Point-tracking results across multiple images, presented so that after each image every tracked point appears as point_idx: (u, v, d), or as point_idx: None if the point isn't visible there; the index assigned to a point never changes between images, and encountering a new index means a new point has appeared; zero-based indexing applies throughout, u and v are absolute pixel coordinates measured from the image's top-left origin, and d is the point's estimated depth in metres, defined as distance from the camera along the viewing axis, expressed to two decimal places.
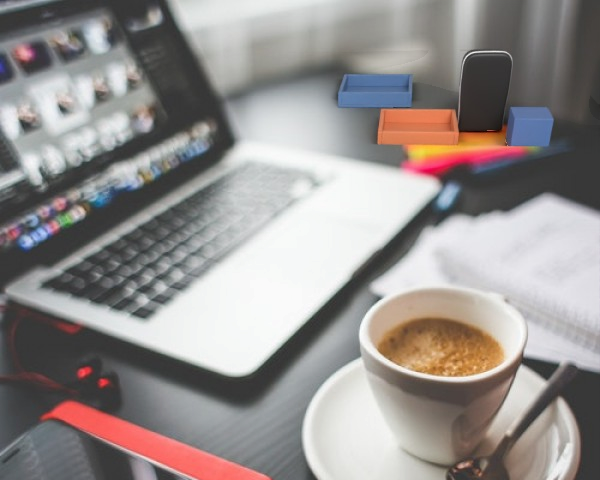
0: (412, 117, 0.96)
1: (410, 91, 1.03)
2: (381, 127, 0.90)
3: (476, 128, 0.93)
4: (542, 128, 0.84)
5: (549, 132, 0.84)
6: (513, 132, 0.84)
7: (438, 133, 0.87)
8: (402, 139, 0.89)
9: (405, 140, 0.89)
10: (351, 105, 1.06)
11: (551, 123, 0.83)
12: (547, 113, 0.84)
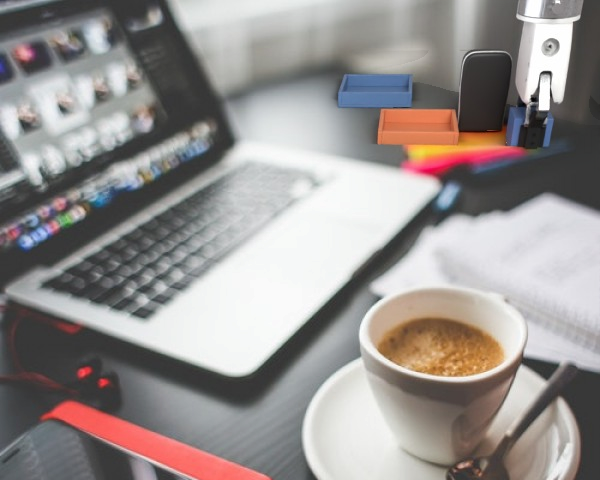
0: (412, 117, 0.96)
1: (410, 91, 1.03)
2: (381, 127, 0.90)
3: (476, 128, 0.93)
4: None
5: (549, 132, 0.84)
6: (513, 132, 0.84)
7: (438, 133, 0.87)
8: (402, 139, 0.89)
9: (405, 140, 0.89)
10: (351, 105, 1.06)
11: (551, 123, 0.83)
12: None
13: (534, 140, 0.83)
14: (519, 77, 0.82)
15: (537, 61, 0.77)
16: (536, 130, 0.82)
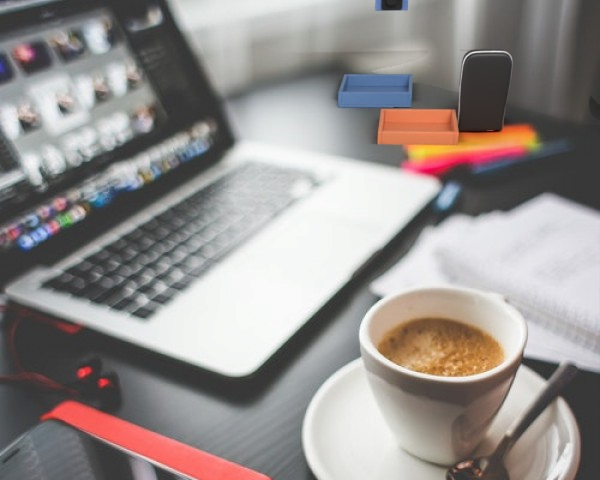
0: (412, 117, 0.96)
1: (410, 91, 1.03)
2: (381, 127, 0.90)
3: (476, 128, 0.93)
4: None
5: None
6: None
7: (438, 133, 0.87)
8: (402, 139, 0.89)
9: (405, 140, 0.89)
10: (351, 105, 1.06)
11: None
12: None
13: None
14: None
15: None
16: None
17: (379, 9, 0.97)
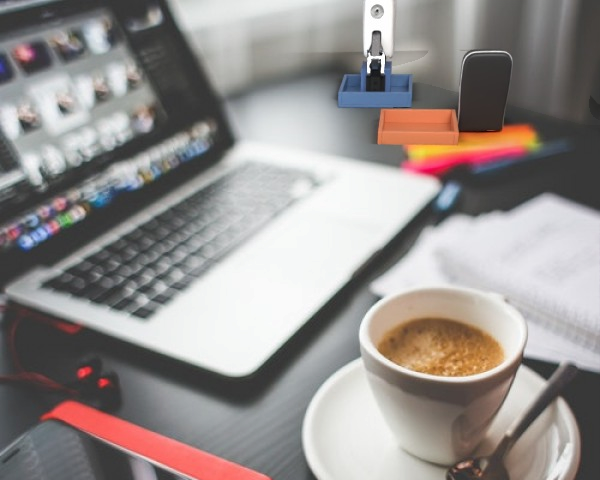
0: (412, 117, 0.96)
1: (410, 91, 1.03)
2: (381, 127, 0.90)
3: (476, 128, 0.93)
4: None
5: (388, 80, 1.05)
6: (361, 80, 1.06)
7: (438, 133, 0.87)
8: (402, 139, 0.89)
9: (405, 140, 0.89)
10: (351, 105, 1.06)
11: (389, 72, 1.05)
12: (388, 65, 1.06)
13: (376, 87, 1.04)
14: None
15: (368, 23, 0.99)
16: (377, 79, 1.03)
17: None
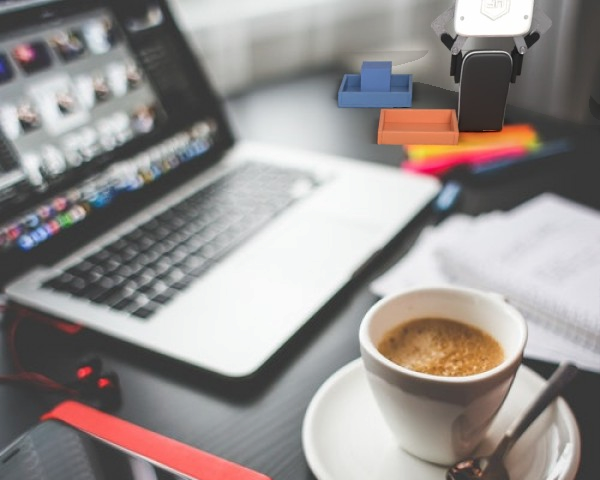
0: (412, 117, 0.96)
1: (410, 91, 1.03)
2: (381, 127, 0.90)
3: (476, 128, 0.93)
4: (383, 76, 1.05)
5: (388, 80, 1.05)
6: (361, 80, 1.06)
7: (438, 133, 0.87)
8: (402, 139, 0.89)
9: (405, 140, 0.89)
10: (351, 105, 1.06)
11: (389, 72, 1.05)
12: (388, 65, 1.06)
13: (451, 65, 0.90)
14: None
15: None
16: (451, 55, 0.90)
17: None
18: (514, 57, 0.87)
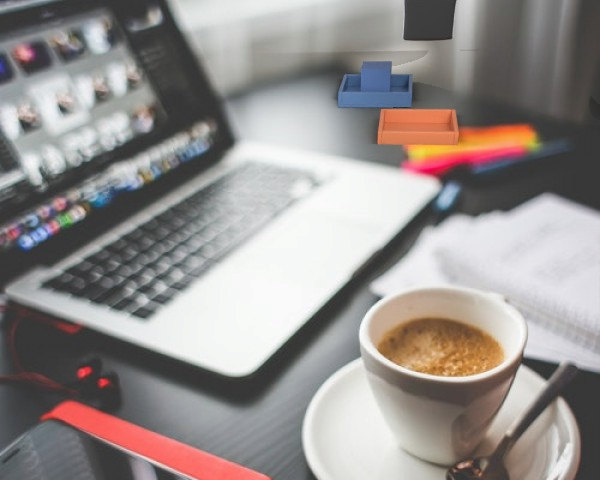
0: (412, 117, 0.96)
1: (410, 91, 1.03)
2: (381, 127, 0.90)
3: (423, 36, 0.84)
4: (383, 76, 1.05)
5: (388, 80, 1.05)
6: (361, 80, 1.06)
7: (438, 133, 0.87)
8: (402, 139, 0.89)
9: (405, 140, 0.89)
10: (351, 105, 1.06)
11: (389, 72, 1.05)
12: (388, 65, 1.06)
13: None
14: None
15: None
16: None
17: None
18: None
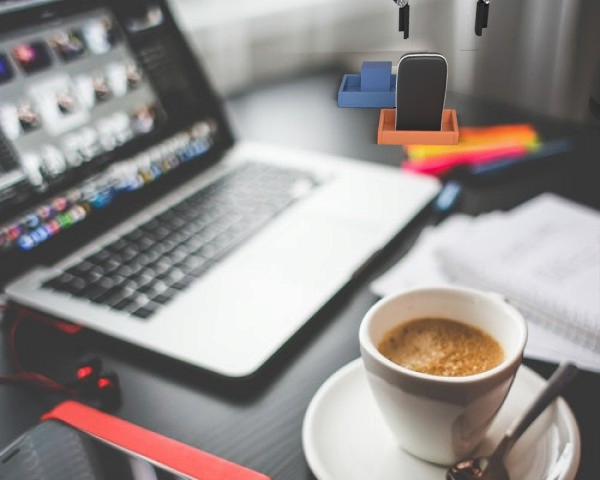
0: None
1: None
2: (381, 127, 0.90)
3: None
4: (383, 76, 1.05)
5: (388, 80, 1.05)
6: (361, 80, 1.06)
7: (438, 133, 0.87)
8: (402, 139, 0.89)
9: (405, 140, 0.89)
10: (351, 105, 1.06)
11: (389, 72, 1.05)
12: (388, 65, 1.06)
13: None
14: None
15: None
16: (399, 9, 0.84)
17: None
18: (479, 7, 0.82)
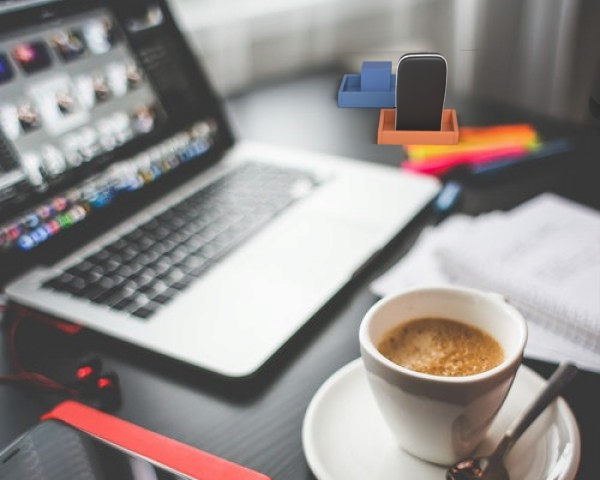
0: None
1: None
2: (381, 127, 0.90)
3: None
4: (383, 76, 1.05)
5: (388, 80, 1.05)
6: (361, 80, 1.06)
7: (438, 133, 0.87)
8: (402, 139, 0.89)
9: (405, 140, 0.89)
10: (351, 105, 1.06)
11: (389, 72, 1.05)
12: (388, 65, 1.06)
13: None
14: None
15: None
16: None
17: None
18: None
